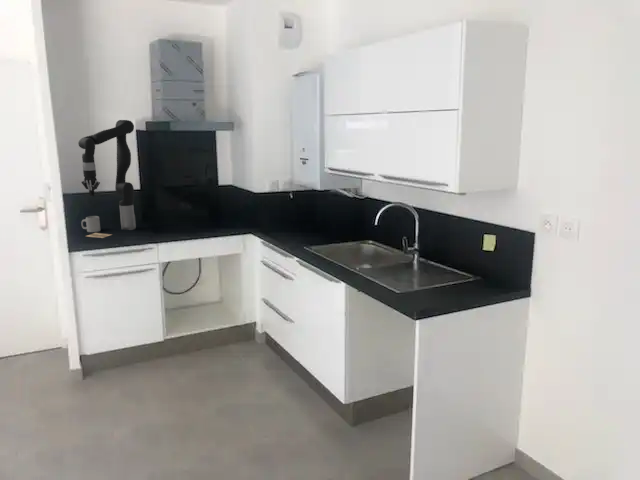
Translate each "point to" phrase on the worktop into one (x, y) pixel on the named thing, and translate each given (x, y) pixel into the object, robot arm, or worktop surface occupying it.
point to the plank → (94, 235)
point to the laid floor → (104, 235)
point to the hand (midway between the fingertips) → (92, 195)
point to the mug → (91, 224)
